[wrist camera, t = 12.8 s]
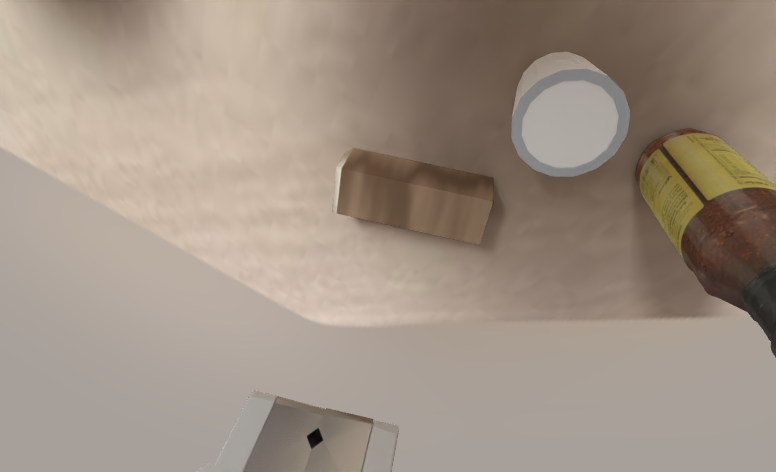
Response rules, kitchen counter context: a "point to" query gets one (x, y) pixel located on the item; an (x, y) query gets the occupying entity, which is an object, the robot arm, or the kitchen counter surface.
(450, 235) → the walnut block
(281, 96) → the kitchen counter surface
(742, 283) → the sauce bottle
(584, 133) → the white tapered cylinder
